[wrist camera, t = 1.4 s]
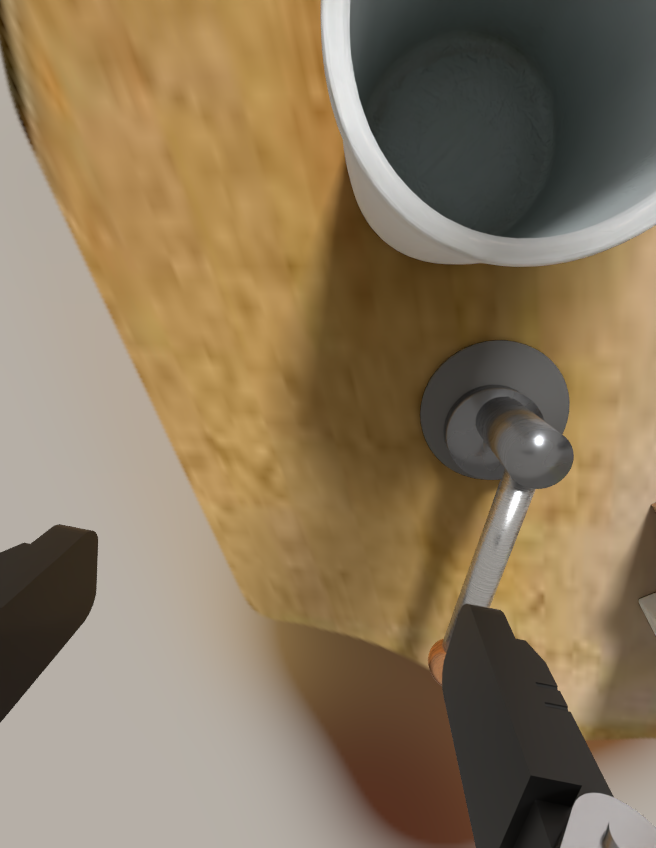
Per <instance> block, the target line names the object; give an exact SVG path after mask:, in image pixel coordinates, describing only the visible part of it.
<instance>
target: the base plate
mask: <svg viewBox="0 0 656 848" xmlns="http://www.w3.org/2000/svg"><path fill="white" fill-rule="evenodd" d="M485 385H504V386H508V387H511V388H513V389H516V390H517V391H519V392H521V393H522V394H524V395H525V396H526V397H528V398H529V399H530V400H532V401H533V402H534V403H535V404H536V405H537V407H538V408H539V410H540V411H541V413H542V415H543V418H544V421H545V422H546V423H547V424H549V425H550V426H551V427H553V428H554V429H555V430H557V431H558V432H559V433H561V434H563V432H564V429H565V426H566V423H567V420H568V414H569V394H568V390H567V386H566V383H565V381H564V378H563V376H562V374H561V373H560V371H559V369H558V368H557V367H556V365H555V364H554V363H553V362H552V361H551V360H550V359H549V358H548V357H546V356H545V355H544V354H543V353H541V352H539V351H538V350H536V349H534V348H532V347H530V346H527V345H525V344H521V343H518V342H513V341H506V340H493V341H485V342H481V343H477V344H474V345H471V346H469V347H466V348H464V349H462V350H460V351H458V352H457V353H455V354H454V355H452V356H451V357H449V358H448V359H447V360H446V361H445V362H444V363H443V364H442V365H441V366H440V367H439V368H438V369H437V370H436V371H435V373H434V374H433V376H432V377H431V379H430V381H429V383H428V384H427V386H426V389H425V392H424V394H423V398H422V402H421V410H420V418H421V426H422V431H423V434H424V437H425V439H426V442H427V444H428V446H429V447H430V449H431V451H432V452H433V453H434V455H435V456H436V457H437V458H438V459H439V460H440V461H441V462H442V463H443V464H444V465H446V466H447V467H448V468H450V469H452V470H453V471H455V472H457V473H459V474H462V475H464V476H468V477H471V478H476V479H481V478H477V477H474V476H472V475H470V474H468V473H466V472H465V471H463V470H462V469H461V468H460V467H459V466H458V465H457V464H456V463H455V461H454V460H453V458H452V456H451V454H450V452H449V450H448V448H447V446H446V443H445V440H444V423H445V419H446V416H447V414H448V412H449V410H450V408H451V407H452V405H453V404H454V403H455V402H456V401H457V400H458V399H459V398H460V397H461V396H462V395H464V394H465V393H467V392H468V391H470V390H472V389H474V388H477V387H480V386H485Z"/></svg>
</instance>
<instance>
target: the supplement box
mask: <svg viewBox="0 0 656 848" xmlns="http://www.w3.org/2000/svg"><path fill="white" fill-rule="evenodd" d="M639 604H640V606H641V608H642V610H643V612H644V614H645V616H646V618H647V620H648V622H649V624H650V626H651V628H652V630H653V632H654V634H655V636H656V593H653V594H651V595H648V596H646V597H643V598H641V599H639Z"/></svg>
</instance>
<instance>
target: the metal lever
mask: <svg viewBox="0 0 656 848" xmlns="http://www.w3.org/2000/svg"><path fill="white" fill-rule="evenodd" d="M444 440H445V443H446V446H447V448H448V450H449V452H450V454H451V456H452V458H453V460H454V461H455V463H456V464H457V465H458V466H459V467H460V468H461V469H462V470H463V471H465V472H466V473H468V474H470V475H472V476H474V477H477V478H481V479H486V480H499V479H501V481H500V483H499V486H498V489H497V492H496V495H495V497H494V500H493V503H492V506H491V509H490V511H489V514H488V517H487V520H486V522H485V525H484V528H483V531H482V534H481V536H480V539H479V542H478V545H477V548H476V550H475V553H474V556H473V559H472V561H471V564H470V567H469V570H468V573H467V575H466V578H465V581H464V584H463V587H462V589H461V592H460V595H459V598H458V600H457V603H456V606H455V609H454V612H453V614H452V617H451V620H450V623H449V626H448V628H447V631H446V634H445V637H444V639H441V640H439V641H437V642H436V643H435V644H434V645H433V646H432V648H431V650H430V652H429V656H428V665H429V670H430V672H431V674H432V676H433V678H434V679H435V680H436V681H437V682H438V683H439V684H440V685H442V670H443V663H444V659H445V656H446V652H447V649H448V646H449V643H450V640H451V637H452V634H453V631H454V628H455V625H456V621H457V618H458V615H459V612H460V610H461V608H462V606H463V605H464V604H466V603H467V604H472V605H477V606H482V607H487V608H490V605H491V603H492V600H493V598H494V595H495V592H496V590H497V587H498V585H499V582H500V579H501V577H502V574H503V572H504V569H505V567H506V564H507V561H508V559H509V556H510V554H511V551H512V549H513V546H514V543H515V541H516V538H517V536H518V533H519V531H520V528H521V525H522V523H523V520H524V518H525V515H526V512H527V510H528V507H529V505H530V502H531V500H532V497H533V494H534V492H535V489H542V488H547V487H550V486H552V485H555V484H556V483H558V482H559V481H561V480H562V479H563V478H564V477H565V476H566V475H567V474H568V472H569V471H570V469H571V466H572V463H573V456H574V455H573V449H572V446H571V444H570V442H569V441H568V440H567V438H566V437H564V436H563V435H562V434H561V433H559V432H558V431H557V430H555V429H554V428H553V427H551V426H550V425H549V424H547V423H546V422H545V421H544V418H543V415H542V413H541V411H540V410H539V408H538V407H537V405H536V404H535V403H534V402H533V401H532V400H530V399H529V398H528V397H526V396H525V395H524V394H522V393H521V392H519V391H517V390H516V389H513V388H511V387H508V386H504V385H485V386H480V387H477V388H474V389H472V390H470V391H468V392H467V393H465V394H464V395H462V396H461V397H460V398H459V399H458V400H457V401H456V402H455V403H454V404H453V405H452V407H451V408H450V410H449V412H448V414H447V416H446V419H445V423H444Z"/></svg>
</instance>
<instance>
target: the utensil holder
mask: <svg viewBox="0 0 656 848" xmlns="http://www.w3.org/2000/svg"><path fill="white" fill-rule="evenodd" d="M321 37H322V52H323V62H324V69H325V76H326V81H327V87H328V92H329V97H330V101H331V105H332V109H333V112H334V116H335V119H336V122H337V125H338V128H339V131H340V133H341V136H342V138H343V144H344V152H345V159H346V164H347V169H348V174H349V177H350V181H351V185H352V188H353V192H354V195H355V198H356V201H357V203H358V205H359V208H360V210H361V212H362V214H363V215H364V217H365V219H366V221H367V222H368V224H369V225H370V226H371V228H372V229H373V230H374V231H375V232H376V233H377V235H378V236H379V237H380V238H381V239H382V240H383V241H385V242H386V243H387V244H388V245H390V246H391V247H393V248H394V249H396V250H397V251H399V252H401V253H403V254H405V255H407V256H409V257H412V258H415V259H418V260H422V261H426V262H431V263H438V264H475V263H486V264H492V265H498V266H511V267H532V266H545V265H552V264H559V263H565V262H569V261H574V260H578V259H582V258H586V257H589V256H592V255H595V254H597V253H600V252H603V251H605V250H608V249H610V248H612V247H615V246H617V245H620V244H622V243H624V242H626V241H628V240H630V239H632V238H634V237H636V236H638V235H640V234H642V233H644V232H645V231H646V230H648V229H650V228H652V227H653V226H655V225H656V0H321Z"/></svg>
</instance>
